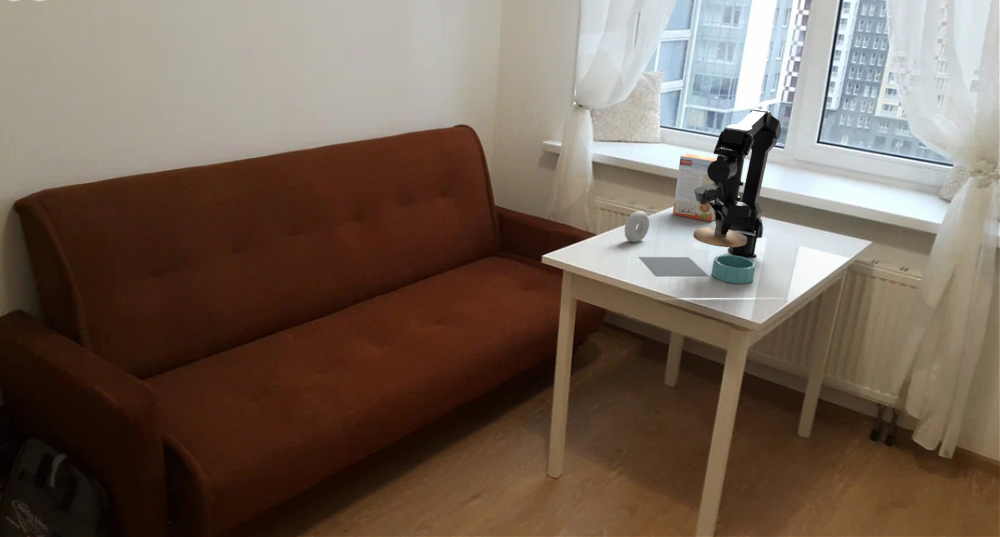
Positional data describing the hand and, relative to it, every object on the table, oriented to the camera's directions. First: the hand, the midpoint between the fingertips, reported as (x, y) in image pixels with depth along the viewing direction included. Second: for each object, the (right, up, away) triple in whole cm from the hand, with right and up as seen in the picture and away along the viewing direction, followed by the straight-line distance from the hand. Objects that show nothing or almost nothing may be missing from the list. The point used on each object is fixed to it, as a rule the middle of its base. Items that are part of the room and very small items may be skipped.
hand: (720, 232), depth 204 cm
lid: (0, -2, +1) cm, 2 cm away
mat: (-11, -10, +8) cm, 17 cm away
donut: (-18, -2, +28) cm, 33 cm away
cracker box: (+8, +8, +58) cm, 59 cm away
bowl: (+4, -13, +3) cm, 13 cm away
